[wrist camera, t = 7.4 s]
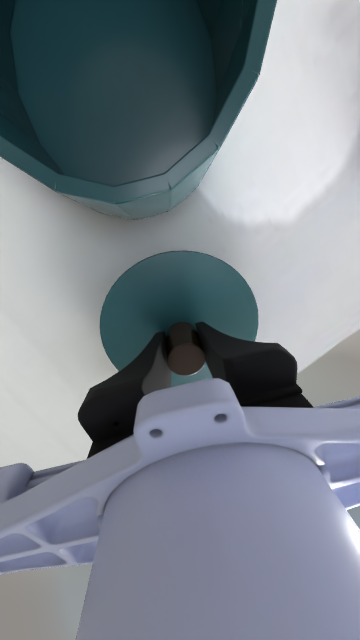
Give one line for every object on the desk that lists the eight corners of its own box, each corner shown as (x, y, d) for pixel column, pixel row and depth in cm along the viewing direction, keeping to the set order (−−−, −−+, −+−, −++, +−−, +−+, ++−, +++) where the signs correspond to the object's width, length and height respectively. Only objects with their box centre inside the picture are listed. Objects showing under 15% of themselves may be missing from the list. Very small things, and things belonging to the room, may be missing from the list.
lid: (247, 230, 12) (288, 224, 8) (255, 368, 17) (283, 406, 13) (76, 274, 12) (33, 288, 8) (134, 396, 17) (125, 442, 13)
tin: (205, -124, 7) (304, -993, 2) (232, 196, 12) (283, 161, 7) (-52, -49, 7) (-520, -681, 2) (73, 237, 12) (8, 232, 7)
